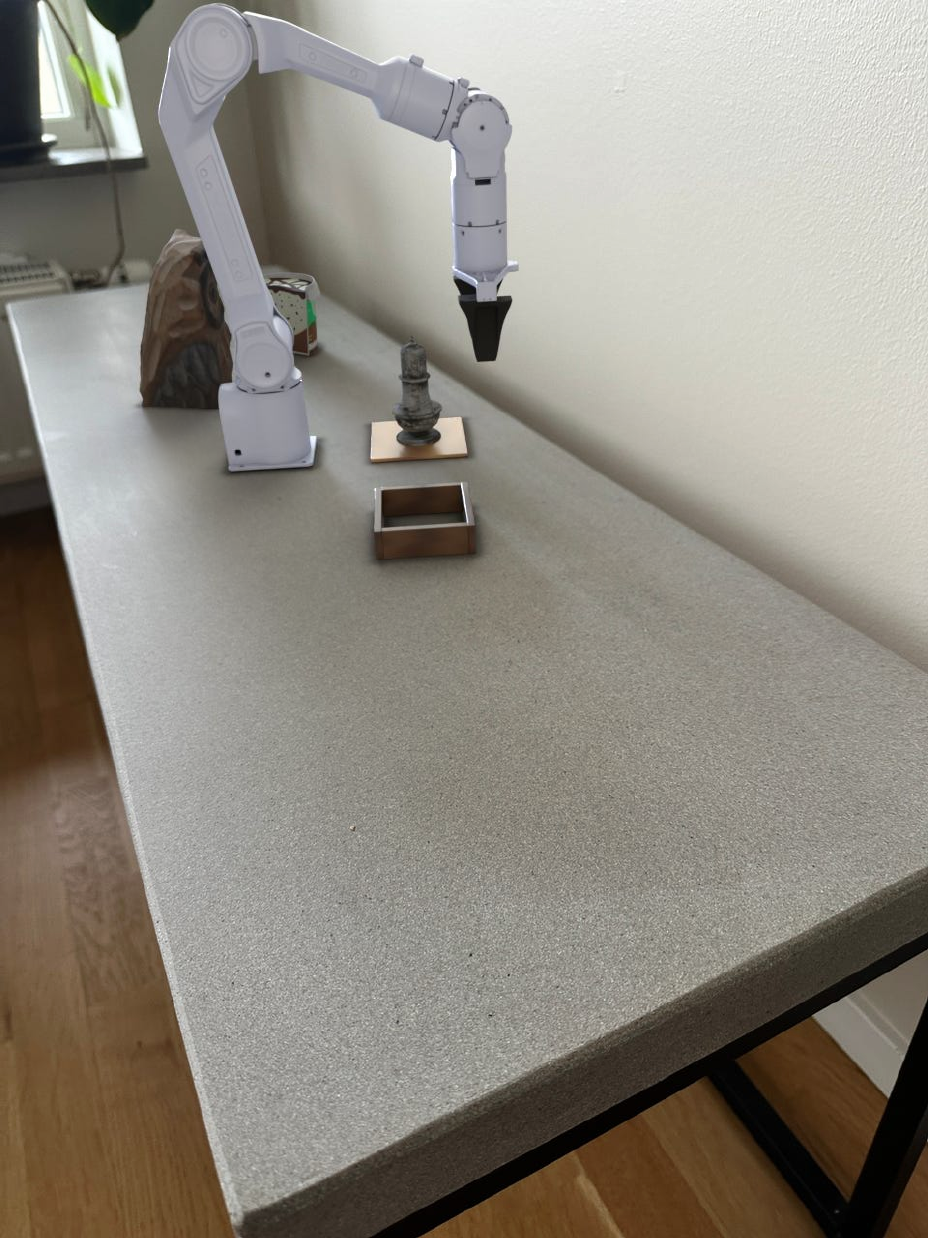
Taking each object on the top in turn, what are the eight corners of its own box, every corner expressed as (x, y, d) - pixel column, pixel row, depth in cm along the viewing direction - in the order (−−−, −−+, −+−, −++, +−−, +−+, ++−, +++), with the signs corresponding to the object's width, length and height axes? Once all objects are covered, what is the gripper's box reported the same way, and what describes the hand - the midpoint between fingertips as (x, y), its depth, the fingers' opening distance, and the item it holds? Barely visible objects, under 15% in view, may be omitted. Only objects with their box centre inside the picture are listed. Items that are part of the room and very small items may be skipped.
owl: (197, 374, 136) (168, 224, 125) (271, 384, 131) (248, 230, 120) (137, 405, 127) (100, 246, 116) (215, 417, 122) (183, 253, 111)
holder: (376, 560, 90) (373, 531, 89) (377, 514, 98) (374, 487, 97) (476, 553, 91) (475, 525, 89) (468, 508, 99) (467, 481, 97)
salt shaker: (437, 448, 110) (431, 344, 104) (388, 445, 112) (379, 343, 105) (448, 428, 115) (443, 328, 109) (400, 426, 116) (393, 327, 110)
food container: (343, 345, 145) (336, 276, 139) (317, 357, 140) (308, 287, 135) (281, 334, 150) (272, 268, 145) (254, 345, 146) (243, 277, 141)
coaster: (371, 462, 109) (370, 459, 109) (372, 425, 118) (371, 422, 118) (467, 456, 109) (467, 453, 109) (461, 419, 118) (461, 416, 118)
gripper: (526, 234, 95) (526, 368, 102) (510, 205, 107) (511, 327, 114) (454, 238, 94) (460, 372, 102) (446, 209, 106) (452, 331, 114)
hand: (483, 349), depth 108 cm, fingers open, 7 cm apart
